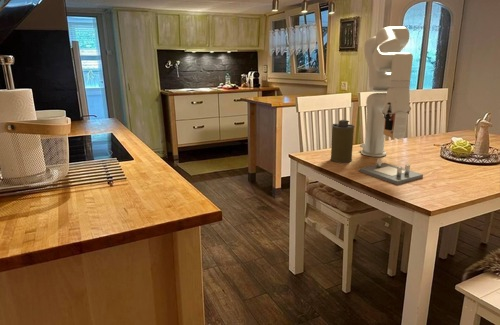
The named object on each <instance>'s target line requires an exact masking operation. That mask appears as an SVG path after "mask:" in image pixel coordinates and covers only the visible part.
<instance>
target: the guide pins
mask: <svg viewBox="0 0 500 325" xmlns="http://www.w3.org/2000/svg"><path fill="white" fill-rule="evenodd" d="M376 159H377V160H376V164H377V168H381V163H382V161H383V160H382V158H381V157H380V158H379V157H377V158H376ZM404 167H405V168H404V169H405V173H404V174H405V175H409V171H411V165H410V164H405V166H404ZM402 168H403V167H402V166H399V165H398V166H397V175H396V176H397V177H401V173H402Z"/></svg>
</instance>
